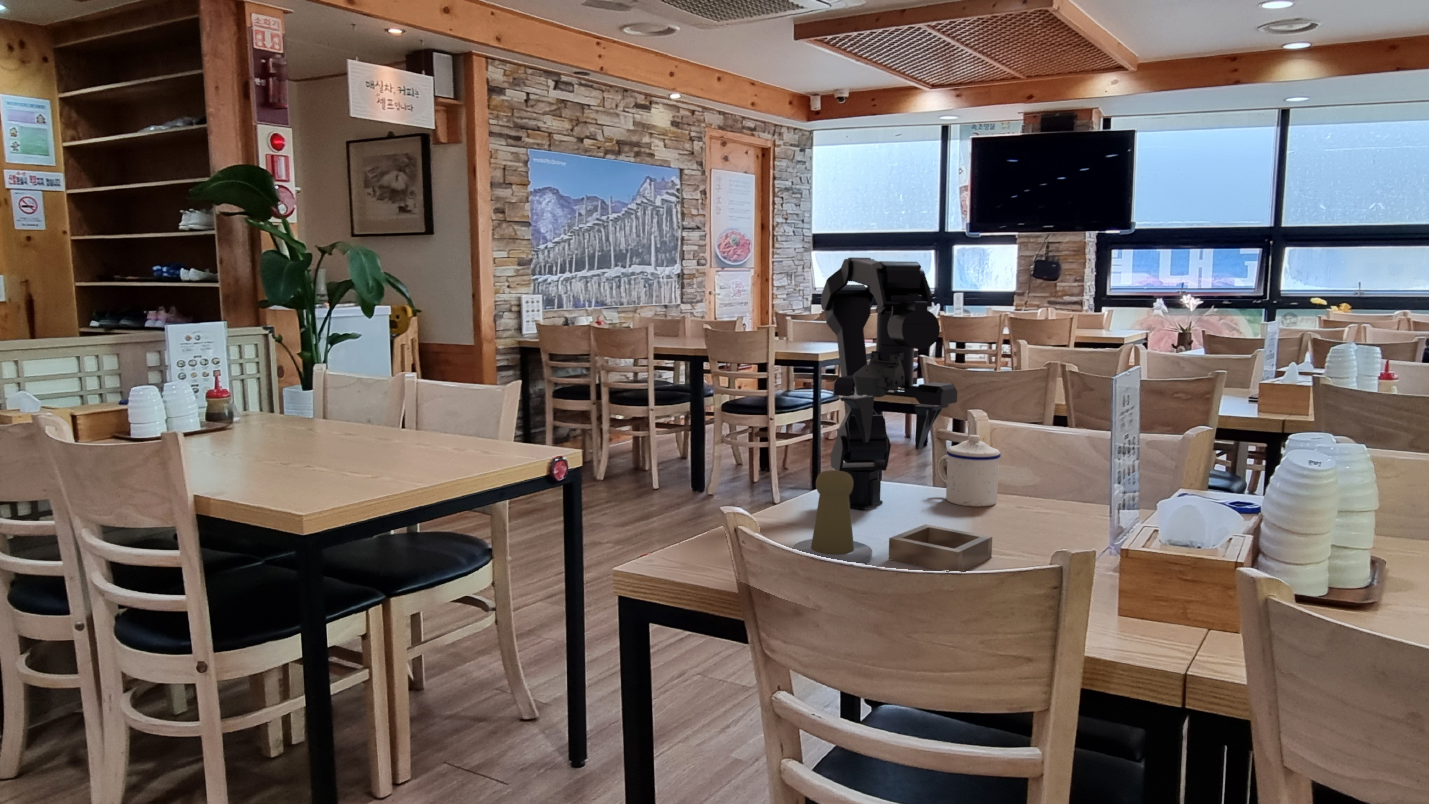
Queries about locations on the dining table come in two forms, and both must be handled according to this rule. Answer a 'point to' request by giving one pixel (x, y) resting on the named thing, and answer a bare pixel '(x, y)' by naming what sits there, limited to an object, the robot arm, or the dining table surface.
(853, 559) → the slate coaster
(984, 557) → the walnut collar
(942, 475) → the teacup with lid
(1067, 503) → the dining table surface
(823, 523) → the olive game pawn
